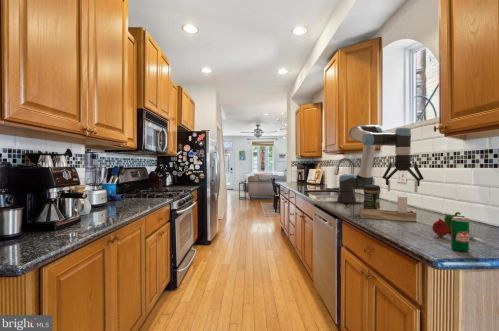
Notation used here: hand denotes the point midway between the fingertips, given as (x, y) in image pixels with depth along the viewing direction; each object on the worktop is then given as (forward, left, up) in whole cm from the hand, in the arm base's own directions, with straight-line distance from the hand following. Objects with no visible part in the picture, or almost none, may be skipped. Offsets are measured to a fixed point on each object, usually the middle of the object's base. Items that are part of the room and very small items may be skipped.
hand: (402, 191), depth 143 cm
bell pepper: (+25, +16, -16) cm, 34 cm away
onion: (+35, +7, -16) cm, 39 cm away
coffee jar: (-11, -15, -16) cm, 25 cm away
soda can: (+53, +7, -16) cm, 56 cm away
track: (0, -8, -16) cm, 18 cm away
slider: (0, 0, -13) cm, 13 cm away
